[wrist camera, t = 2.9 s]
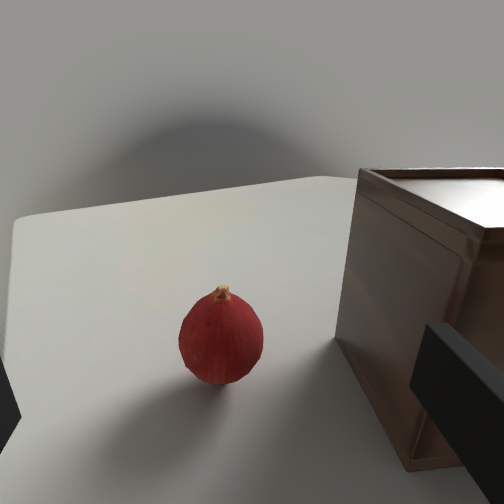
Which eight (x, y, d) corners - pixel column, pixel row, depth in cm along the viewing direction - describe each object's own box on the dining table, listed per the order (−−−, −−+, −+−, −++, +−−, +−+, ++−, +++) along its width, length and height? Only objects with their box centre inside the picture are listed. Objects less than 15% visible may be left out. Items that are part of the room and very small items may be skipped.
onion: (167, 376, 25) (156, 282, 22) (227, 342, 29) (226, 257, 26) (215, 428, 21) (211, 323, 18) (277, 381, 25) (283, 287, 22)
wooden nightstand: (450, 328, 31) (501, 167, 25) (579, 452, 20) (723, 220, 14) (334, 336, 30) (359, 168, 24) (406, 472, 19) (485, 227, 13)
